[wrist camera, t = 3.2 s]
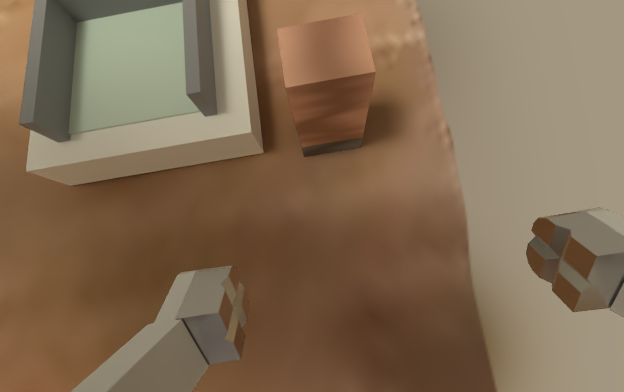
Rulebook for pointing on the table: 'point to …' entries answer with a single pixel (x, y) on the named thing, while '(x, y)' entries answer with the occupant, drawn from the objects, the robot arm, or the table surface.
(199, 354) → the robot arm
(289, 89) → the block
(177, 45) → the bay dock
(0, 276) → the table surface
